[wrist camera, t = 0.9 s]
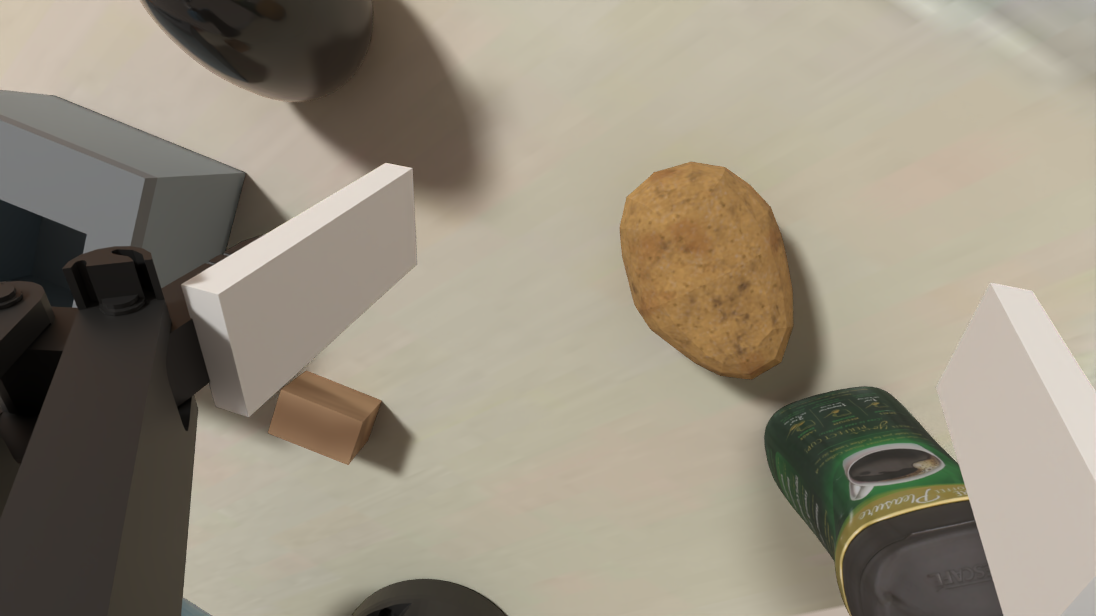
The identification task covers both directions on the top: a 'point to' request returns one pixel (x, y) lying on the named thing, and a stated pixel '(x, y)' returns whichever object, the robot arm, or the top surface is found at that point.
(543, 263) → the top surface
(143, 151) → the box
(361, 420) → the block
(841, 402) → the coffee jar
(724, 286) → the potato
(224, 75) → the black dome cover
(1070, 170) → the top surface
